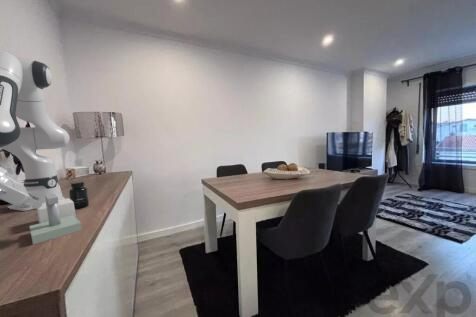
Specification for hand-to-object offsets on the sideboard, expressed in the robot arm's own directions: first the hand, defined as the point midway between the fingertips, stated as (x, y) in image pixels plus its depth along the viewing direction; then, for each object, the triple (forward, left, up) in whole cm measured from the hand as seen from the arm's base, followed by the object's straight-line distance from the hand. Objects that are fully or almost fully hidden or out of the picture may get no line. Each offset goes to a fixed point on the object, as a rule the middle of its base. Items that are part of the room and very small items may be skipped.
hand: (39, 203), depth 67 cm
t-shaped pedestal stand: (+2, +3, -11) cm, 12 cm away
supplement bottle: (-15, +27, -11) cm, 33 cm away
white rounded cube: (-9, +12, -11) cm, 19 cm away
